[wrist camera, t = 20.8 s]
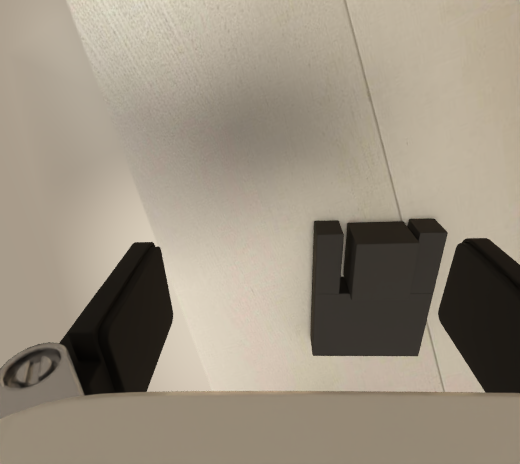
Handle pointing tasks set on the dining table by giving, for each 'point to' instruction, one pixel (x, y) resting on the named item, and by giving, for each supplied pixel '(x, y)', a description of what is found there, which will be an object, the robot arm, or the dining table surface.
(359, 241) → the dark grey square block
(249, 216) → the dining table surface
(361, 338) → the forked base block
